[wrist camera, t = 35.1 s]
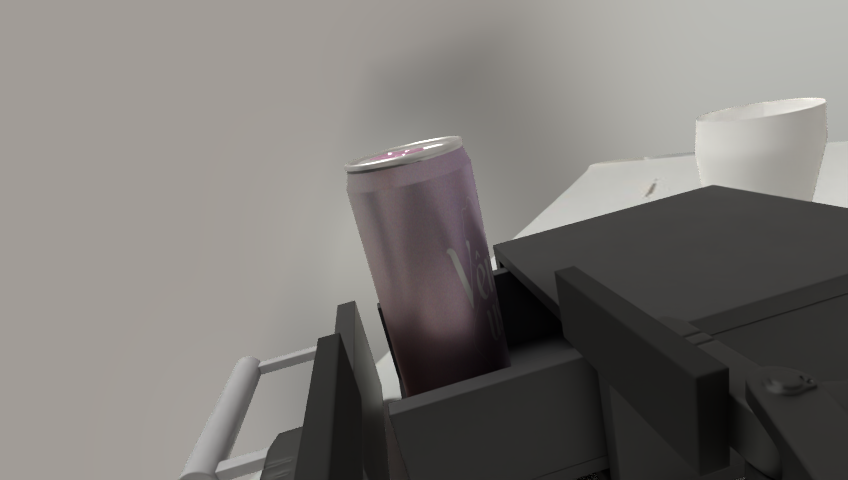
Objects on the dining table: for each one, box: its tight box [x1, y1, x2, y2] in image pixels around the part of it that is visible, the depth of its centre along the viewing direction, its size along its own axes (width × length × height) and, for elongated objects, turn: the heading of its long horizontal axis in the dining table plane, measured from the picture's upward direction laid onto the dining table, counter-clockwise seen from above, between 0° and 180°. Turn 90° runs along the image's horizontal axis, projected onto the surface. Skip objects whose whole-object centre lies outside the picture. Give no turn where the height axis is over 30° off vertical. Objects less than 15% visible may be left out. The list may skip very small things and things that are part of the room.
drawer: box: [178, 267, 610, 480], centre depth 23 cm, size 22×13×7 cm, turn 99°
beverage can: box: [344, 136, 511, 397], centre depth 22 cm, size 6×6×15 cm
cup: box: [695, 98, 827, 202], centre depth 38 cm, size 9×9×12 cm
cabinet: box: [493, 185, 848, 480], centre depth 24 cm, size 17×14×9 cm
